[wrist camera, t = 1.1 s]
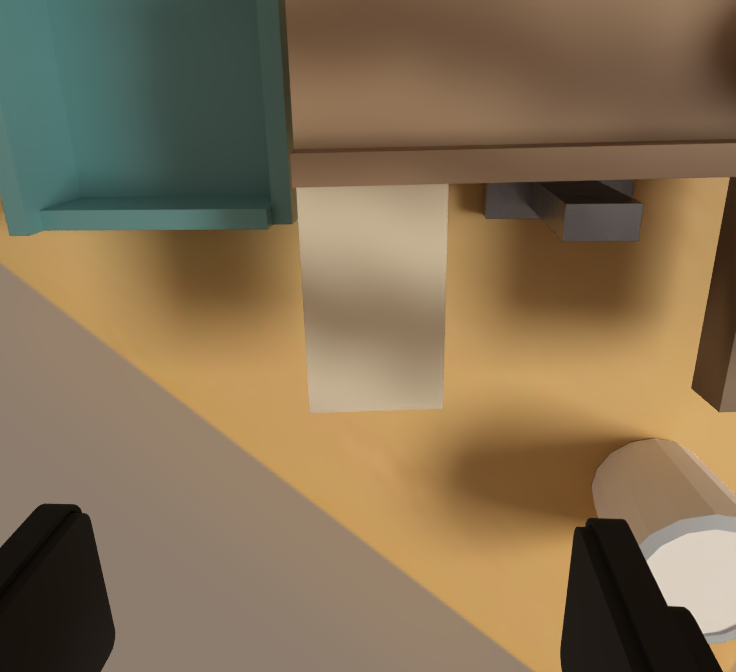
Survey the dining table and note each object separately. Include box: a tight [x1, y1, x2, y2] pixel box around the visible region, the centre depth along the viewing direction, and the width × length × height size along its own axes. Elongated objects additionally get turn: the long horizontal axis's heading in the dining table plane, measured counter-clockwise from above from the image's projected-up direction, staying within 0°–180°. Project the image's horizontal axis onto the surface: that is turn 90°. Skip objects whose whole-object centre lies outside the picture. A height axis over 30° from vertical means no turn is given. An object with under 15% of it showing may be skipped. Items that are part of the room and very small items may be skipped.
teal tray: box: [0, 0, 298, 236], centre depth 24 cm, size 12×11×5 cm
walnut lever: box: [285, 0, 736, 413], centre depth 20 cm, size 16×20×4 cm
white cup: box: [591, 438, 736, 644], centre depth 29 cm, size 7×7×7 cm
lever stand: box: [483, 179, 643, 241], centre depth 22 cm, size 12×6×8 cm, turn 1°
